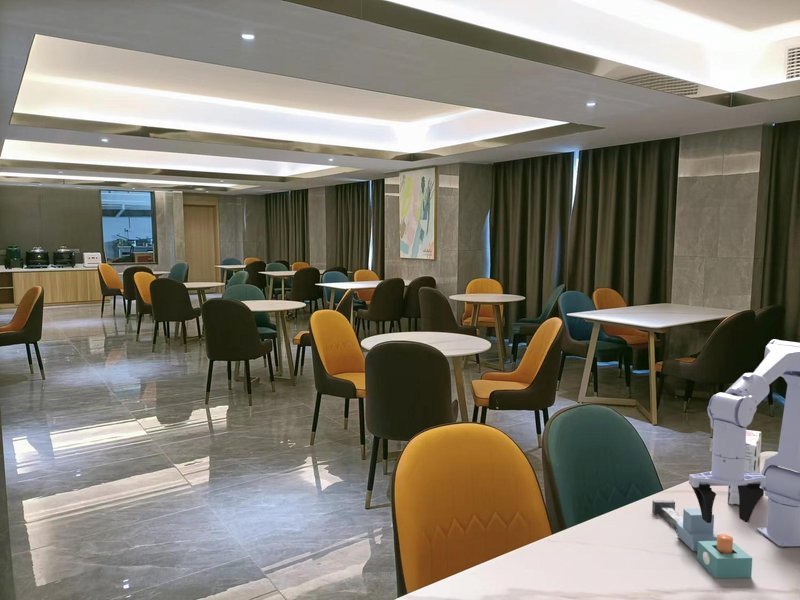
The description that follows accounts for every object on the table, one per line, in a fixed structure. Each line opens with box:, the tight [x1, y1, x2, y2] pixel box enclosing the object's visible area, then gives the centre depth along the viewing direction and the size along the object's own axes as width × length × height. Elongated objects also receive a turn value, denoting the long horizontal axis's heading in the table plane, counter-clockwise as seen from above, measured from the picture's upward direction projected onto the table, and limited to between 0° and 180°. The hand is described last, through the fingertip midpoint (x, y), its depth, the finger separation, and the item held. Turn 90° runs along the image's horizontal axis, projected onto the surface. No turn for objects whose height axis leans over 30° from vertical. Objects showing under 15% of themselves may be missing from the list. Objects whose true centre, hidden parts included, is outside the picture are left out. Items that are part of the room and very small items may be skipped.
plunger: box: [716, 533, 734, 554], centre depth 121 cm, size 3×3×4 cm
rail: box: [651, 499, 683, 531], centre depth 136 cm, size 5×21×3 cm, turn 2°
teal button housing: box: [696, 541, 753, 579], centre depth 121 cm, size 7×7×4 cm
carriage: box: [676, 508, 718, 552], centre depth 131 cm, size 6×7×7 cm
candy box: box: [727, 429, 762, 507], centre depth 155 cm, size 14×6×16 cm, turn 144°
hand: (725, 520), depth 120 cm, fingers open, 7 cm apart
